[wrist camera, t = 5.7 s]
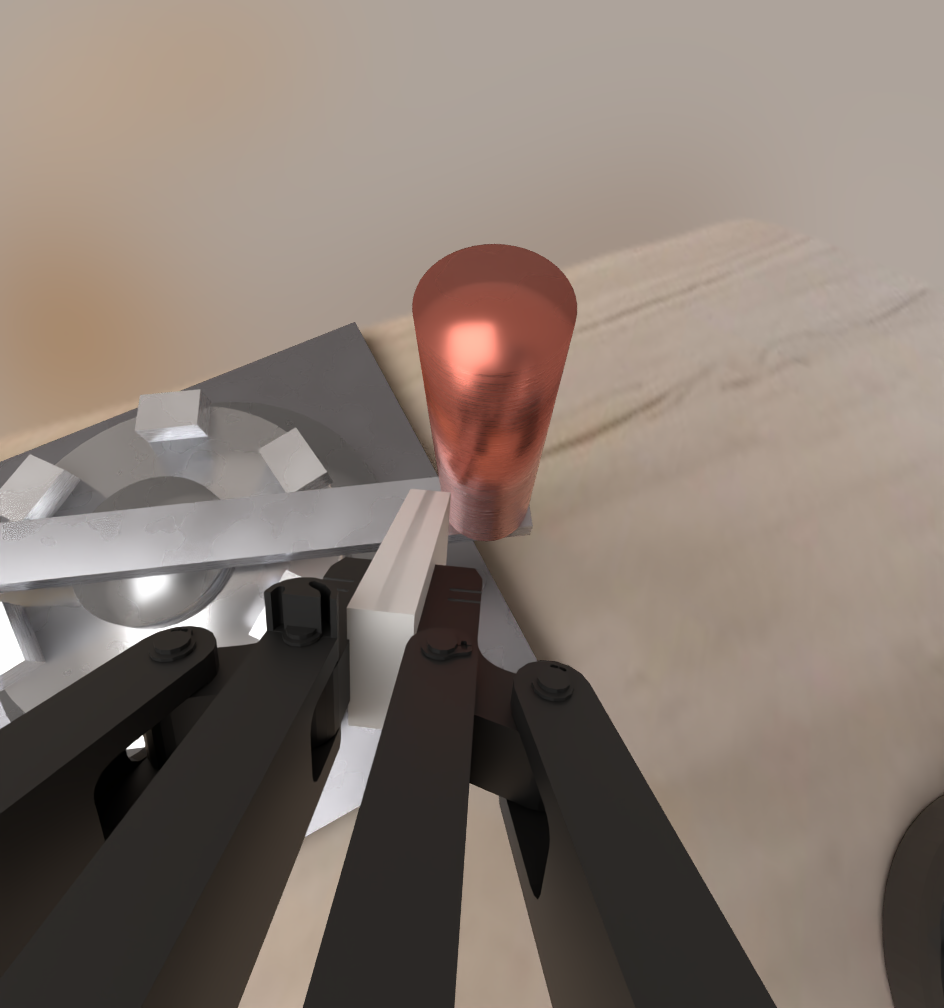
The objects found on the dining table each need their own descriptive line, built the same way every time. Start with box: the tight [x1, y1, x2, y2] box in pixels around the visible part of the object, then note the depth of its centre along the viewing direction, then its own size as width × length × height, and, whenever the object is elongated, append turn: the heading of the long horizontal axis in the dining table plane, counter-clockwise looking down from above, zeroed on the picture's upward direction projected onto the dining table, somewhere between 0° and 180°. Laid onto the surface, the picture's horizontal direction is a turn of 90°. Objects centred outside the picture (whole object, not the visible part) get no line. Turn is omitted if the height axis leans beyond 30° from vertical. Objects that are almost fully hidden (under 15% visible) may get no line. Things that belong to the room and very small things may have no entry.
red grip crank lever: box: [0, 244, 577, 749], centre depth 16 cm, size 22×14×14 cm, turn 96°
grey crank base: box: [0, 322, 537, 837], centre depth 25 cm, size 24×24×4 cm
